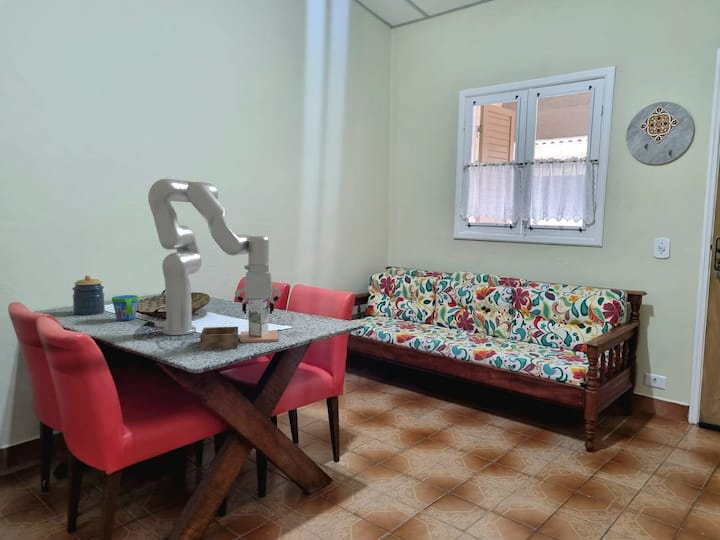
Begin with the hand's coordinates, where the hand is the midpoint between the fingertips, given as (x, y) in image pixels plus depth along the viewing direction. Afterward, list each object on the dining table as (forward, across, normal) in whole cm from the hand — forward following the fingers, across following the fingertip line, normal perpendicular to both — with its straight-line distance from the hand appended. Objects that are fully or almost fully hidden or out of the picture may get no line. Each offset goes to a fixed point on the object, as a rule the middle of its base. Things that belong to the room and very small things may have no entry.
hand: (258, 313), depth 193 cm
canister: (+11, -76, +59) cm, 97 cm away
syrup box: (+9, 0, 0) cm, 9 cm away
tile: (+10, 0, 0) cm, 10 cm away
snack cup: (+11, -56, +41) cm, 71 cm away
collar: (+10, -14, -8) cm, 18 cm away
